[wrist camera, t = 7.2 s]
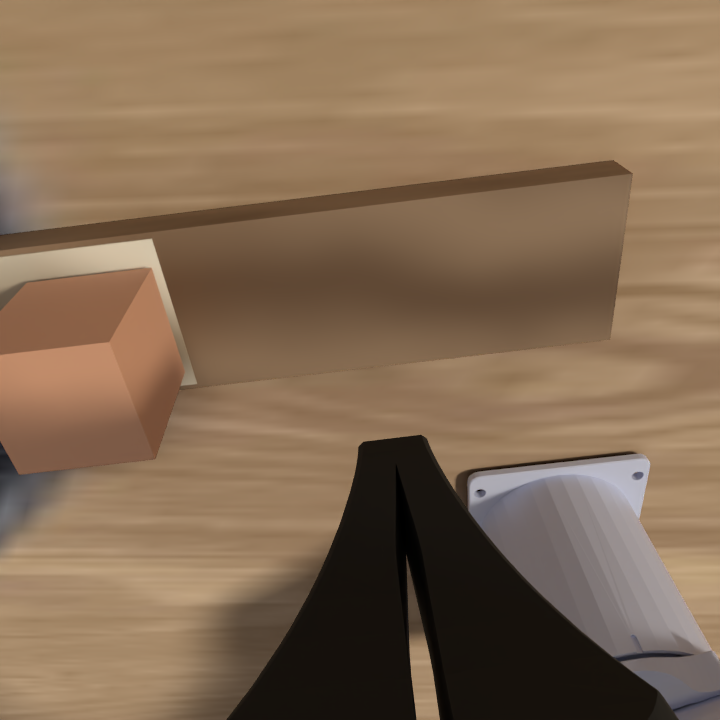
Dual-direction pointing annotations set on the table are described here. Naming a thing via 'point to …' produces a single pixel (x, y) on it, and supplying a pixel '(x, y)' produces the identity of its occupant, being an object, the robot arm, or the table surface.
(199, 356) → the track
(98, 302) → the slider
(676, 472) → the table surface
